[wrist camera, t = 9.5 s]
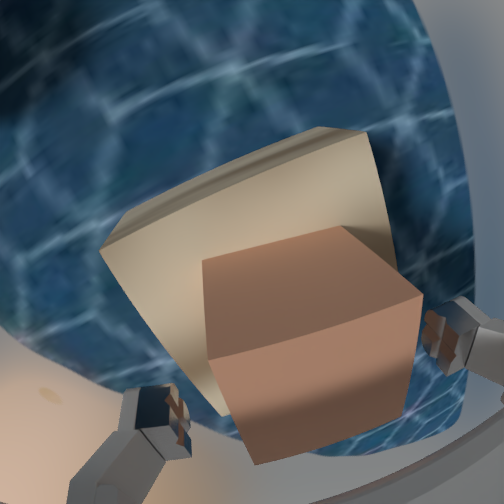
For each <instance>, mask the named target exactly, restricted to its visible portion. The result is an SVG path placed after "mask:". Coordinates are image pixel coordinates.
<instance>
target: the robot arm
mask: <svg viewBox="0 0 504 504" xmlns="http://www.w3.org/2000/svg"><path fill="white" fill-rule="evenodd" d="M424 321H425V322H426V323H427V325H426V326H425V328H424V329H423V331H422V337H421V339H422V344H423V347H424V349H425V351H426V352H427V354H428V355H429V356H431V357H434V358H436V364H437V366H438V367H439V368H440V369H441V370H442V372H443V373H444V374H445V375H446V376H449V375H451V374H453V373H454V372H456V371H458V370H460V369H462V368H464V367H465V368H466V369H468V370H470V371H472V372H474V373H476V374H479V375H481V376H483V377H485V378H487V379H489V380H491V381H493V382H496V383H498V384H500V385H502V386H504V320H500V319H497V318H493V319H490V318H489V317H488V316H487V315H486V314H485V313H483V312H482V311H481V310H480V309H479V308H477V307H476V306H475V305H474V304H473V303H471V302H470V301H469V300H468V299H467V298H465V297H463V296H459V297H457V298H455V299H453V300H450V301H448V302H446V303H444V304H441V305H439V306H437V307H434V308H432V309H430V310H428V311H427V312H426V314H425V319H424ZM501 402H502V403H503V404H504V392H503V394H502V396H501ZM189 429H190V418H189V413H188V409H187V407H186V404H185V402H184V400H182V399H180V398H178V389H177V388H176V386H175V384H173V383H170V384H162V385H155V386H147V387H141V388H132V389H126V391H125V392H124V395H123V401H122V406H121V413H120V419H119V425H118V431H114V432H113V433H112V434H111V435H110V436H109V437H108V438H107V439H106V441H105V442H104V443H103V444H102V445H101V446H100V447H99V449H98V450H97V451H96V452H95V453H94V454H93V455H92V457H91V458H90V459H89V460H88V461H87V462H86V463H85V465H84V466H83V467H82V468H81V469H80V470H79V471H78V473H77V474H76V475H75V476H74V477H73V478H72V479H71V481H70V484H69V490H68V497H67V503H66V504H142V502H143V501H144V499H145V497H146V496H147V494H148V492H149V490H150V489H151V487H152V485H153V484H154V482H155V480H156V478H157V477H158V475H159V473H160V472H161V470H162V468H163V466H164V465H165V463H166V462H165V461H168V460H176V459H183V458H190V457H192V450H191V439H190V437H189V436H188V434H187V432H188V431H189ZM0 504H6V503H3V502H0ZM310 504H504V408H503V409H501V410H500V411H498V412H497V413H496V414H494V415H493V416H491V417H490V418H489V419H487V420H486V421H484V422H483V423H481V424H480V425H479V426H477V427H476V428H474V429H473V430H471V431H470V432H468V433H466V434H465V435H463V436H462V437H460V438H458V439H457V440H455V441H453V442H452V443H450V444H448V445H447V446H445V447H443V448H442V449H440V450H438V451H436V452H434V453H433V454H431V455H429V456H427V457H425V458H423V459H421V460H420V461H417V462H415V463H413V464H411V465H409V466H407V467H405V468H403V469H401V470H399V471H397V472H395V473H392V474H390V475H388V476H386V477H384V478H381V479H379V480H376V481H374V482H371V483H369V484H366V485H364V486H361V487H358V488H356V489H353V490H350V491H347V492H345V493H342V494H339V495H336V496H333V497H330V498H327V499H323V500H320V501H317V502H313V503H310Z"/></svg>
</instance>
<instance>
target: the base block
mask: <svg viewBox="0 0 504 504" xmlns="http://www.w3.org/2000/svg"><path fill="white" fill-rule="evenodd" d="M336 226H342V227H343V228H344V229H345V230H347V231H348V232H349V233H350V234H352V235H353V236H354V237H356V238H357V239H358V240H359V241H361V242H362V243H363V244H364V245H366V246H367V247H368V248H369V249H370V250H372V251H373V252H374V253H375V254H377V255H378V256H379V257H380V258H381V259H383V260H384V261H385V262H386V263H387V264H389V265H390V266H391V267H392V268H393V269H395V270H396V271H397V272H398V269H397V262H396V256H395V251H394V245H393V239H392V234H391V229H390V224H389V219H388V214H387V210H386V205H385V201H384V196H383V192H382V188H381V184H380V180H379V176H378V172H377V168H376V164H375V161H374V157H373V153H372V150H371V146H370V143H369V139H368V136H367V133H366V132H362V131H355V130H346V129H338V128H328V127H316V128H313V129H310V130H307V131H305V132H302V133H299V134H297V135H294V136H292V137H289V138H286V139H284V140H281V141H279V142H276V143H274V144H271V145H269V146H266V147H264V148H261V149H259V150H257V151H254V152H252V153H249V154H247V155H245V156H242V157H240V158H238V159H235V160H233V161H231V162H228V163H226V164H224V165H222V166H219V167H217V168H215V169H213V170H210V171H208V172H206V173H204V174H202V175H200V176H197V177H195V178H193V179H191V180H189V181H187V182H185V183H183V184H180V185H178V186H176V187H174V188H172V189H170V190H168V191H166V192H164V193H162V194H160V195H158V196H156V197H154V198H152V199H150V200H148V201H146V202H144V203H142V204H140V205H138V206H137V207H135V208H133V209H131V210H129V211H127V212H126V213H125V214H124V216H123V217H122V218H121V220H120V221H119V222H118V224H117V225H116V227H115V228H114V230H113V231H112V232H111V234H110V235H109V237H108V238H107V240H106V241H105V242H104V244H103V245H102V247H101V248H100V250H99V252H100V254H101V255H102V257H103V259H104V260H105V262H106V264H107V265H108V267H109V268H110V270H111V271H112V273H113V275H114V276H115V278H116V279H117V281H118V282H119V284H120V285H121V287H122V288H123V290H124V291H125V293H126V294H127V296H128V297H129V299H130V300H131V302H132V303H133V305H134V306H135V308H136V309H137V310H138V312H139V313H140V315H141V316H142V318H143V319H144V320H145V322H146V323H147V325H148V326H149V327H150V329H151V330H152V331H153V333H154V334H155V335H156V337H157V338H158V340H159V341H160V342H161V344H162V345H163V346H164V347H165V349H166V350H167V351H168V353H169V354H170V355H171V357H172V358H173V359H174V360H175V362H176V363H177V364H178V365H179V367H180V368H181V369H182V370H183V372H184V373H185V374H186V375H187V377H188V378H189V379H190V380H191V381H192V383H193V384H194V385H195V386H196V387H197V389H198V390H199V391H200V392H201V393H202V395H203V396H204V397H205V398H206V399H207V400H208V401H209V403H210V404H211V405H212V406H213V407H214V408H215V409H216V411H217V412H218V413H219V414H220V415H221V416H225V415H228V414H230V411H229V409H228V407H227V405H226V402H225V400H224V398H223V396H222V393H221V391H220V389H219V386H218V384H217V382H216V379H215V377H214V374H213V372H212V370H211V367H210V365H209V362H208V357H207V343H206V329H205V314H204V297H203V277H202V260H204V259H208V258H212V257H216V256H220V255H224V254H228V253H232V252H236V251H240V250H244V249H248V248H252V247H256V246H260V245H264V244H268V243H272V242H276V241H279V240H283V239H287V238H291V237H295V236H299V235H303V234H307V233H311V232H315V231H319V230H323V229H328V228H332V227H336Z"/></svg>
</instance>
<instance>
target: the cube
mask: <svg viewBox="0 0 504 504" xmlns="http://www.w3.org/2000/svg"><path fill="white" fill-rule="evenodd" d="M202 277H203V297H204V314H205V329H206V343H207V357H208V362H209V365H210V367H211V370H212V372H213V374H214V377H215V379H216V382H217V384H218V386H219V389H220V391H221V393H222V396H223V398H224V400H225V402H226V405H227V407H228V409H229V411H230V414H231V416H232V418H233V420H234V423H235V425H236V427H237V429H238V431H239V433H240V436H241V438H242V440H243V442H244V444H245V446H246V448H247V450H248V452H249V454H250V456H251V458H252V460H253V463H254V465H259V464H263V463H267V462H271V461H276V460H280V459H283V458H287V457H291V456H294V455H298V454H302V453H305V452H308V451H312V450H315V449H318V448H321V447H324V446H327V445H330V444H333V443H336V442H339V441H342V440H344V439H347V438H350V437H353V436H355V435H358V434H360V433H363V432H365V431H368V430H370V429H373V428H375V427H378V426H380V425H382V424H385V423H387V422H389V421H392V420H394V419H396V418H398V417H400V416H401V415H402V411H403V407H404V403H405V399H406V395H407V390H408V386H409V381H410V377H411V372H412V367H413V362H414V356H415V351H416V345H417V339H418V332H419V326H420V318H421V310H422V302H423V293H421V292H420V291H419V290H418V289H417V288H416V287H415V286H413V285H412V284H411V283H410V282H409V281H408V280H406V279H405V278H404V277H403V276H402V275H401V274H399V273H398V272H397V271H396V270H395V269H393V268H392V267H391V266H390V265H389V264H387V263H386V262H385V261H384V260H383V259H381V258H380V257H379V256H378V255H377V254H375V253H374V252H373V251H372V250H370V249H369V248H368V247H367V246H366V245H364V244H363V243H362V242H361V241H359V240H358V239H357V238H356V237H354V236H353V235H352V234H350V233H349V232H348V231H347V230H345V229H344V228H343V227H342V226H336V227H332V228H328V229H323V230H319V231H315V232H311V233H307V234H303V235H299V236H295V237H291V238H287V239H283V240H279V241H276V242H272V243H268V244H264V245H260V246H256V247H252V248H248V249H244V250H240V251H236V252H232V253H228V254H224V255H220V256H216V257H212V258H208V259H204V260H202Z"/></svg>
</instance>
